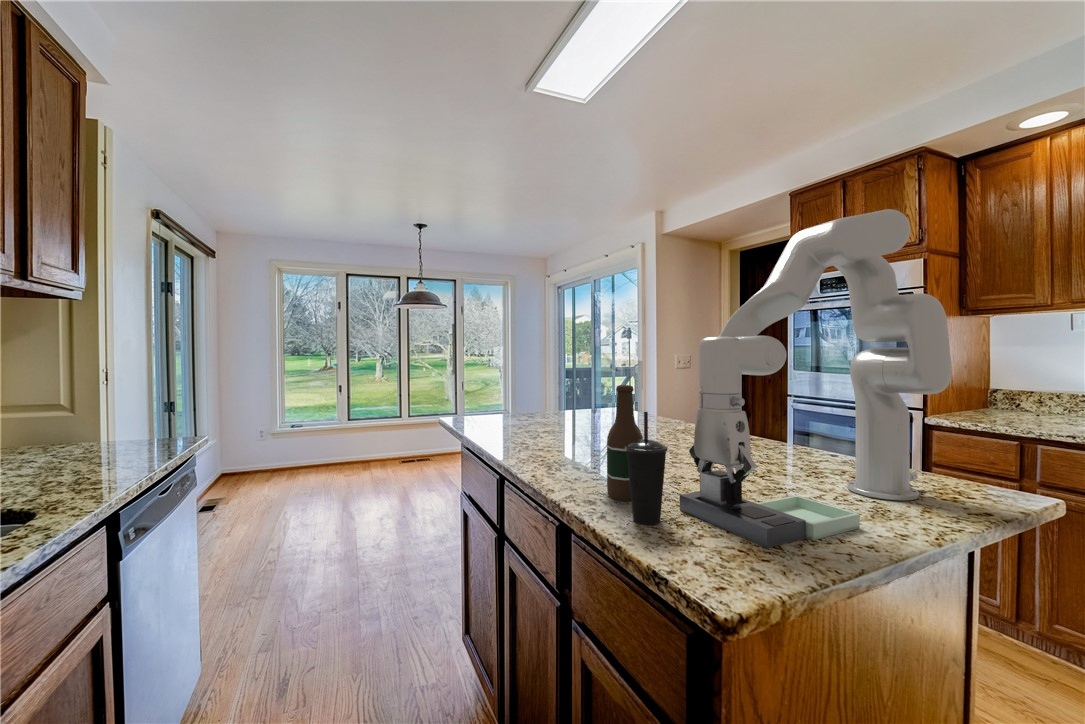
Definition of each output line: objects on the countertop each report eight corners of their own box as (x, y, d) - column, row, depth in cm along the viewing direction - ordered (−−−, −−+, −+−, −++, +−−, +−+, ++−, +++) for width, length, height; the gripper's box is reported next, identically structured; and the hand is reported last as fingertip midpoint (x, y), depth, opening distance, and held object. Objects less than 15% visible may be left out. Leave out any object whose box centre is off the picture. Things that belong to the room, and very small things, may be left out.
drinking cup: (640, 510, 90) (639, 408, 90) (675, 520, 84) (675, 411, 84) (617, 520, 84) (616, 412, 84) (653, 531, 79) (652, 415, 79)
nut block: (720, 510, 90) (719, 468, 90) (740, 518, 85) (740, 474, 85) (700, 514, 88) (700, 471, 88) (720, 522, 83) (720, 477, 83)
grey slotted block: (714, 503, 94) (714, 488, 94) (805, 538, 76) (805, 519, 76) (679, 509, 90) (679, 494, 90) (767, 548, 72) (766, 528, 72)
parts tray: (796, 508, 91) (796, 495, 91) (859, 528, 80) (859, 514, 80) (752, 517, 86) (752, 503, 86) (813, 540, 75) (813, 524, 75)
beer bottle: (644, 503, 95) (643, 386, 94) (606, 500, 96) (605, 386, 96) (643, 492, 102) (642, 384, 102) (608, 490, 104) (607, 384, 104)
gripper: (773, 405, 80) (774, 509, 80) (701, 398, 96) (702, 484, 96) (742, 407, 77) (742, 515, 77) (673, 399, 93) (673, 488, 93)
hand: (720, 497), depth 87 cm, fingers open, 5 cm apart
